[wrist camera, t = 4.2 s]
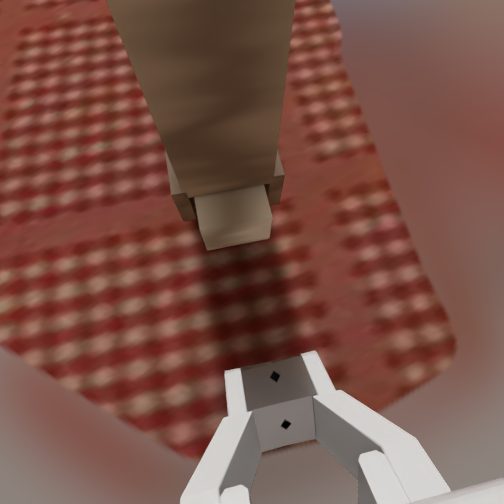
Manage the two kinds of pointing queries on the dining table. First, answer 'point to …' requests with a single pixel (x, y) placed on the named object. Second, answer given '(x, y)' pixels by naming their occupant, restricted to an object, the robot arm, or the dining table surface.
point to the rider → (212, 88)
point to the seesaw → (234, 217)
